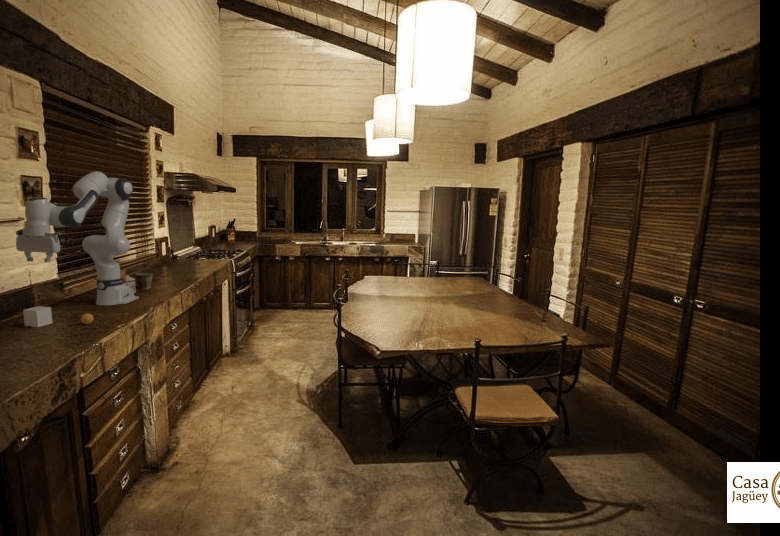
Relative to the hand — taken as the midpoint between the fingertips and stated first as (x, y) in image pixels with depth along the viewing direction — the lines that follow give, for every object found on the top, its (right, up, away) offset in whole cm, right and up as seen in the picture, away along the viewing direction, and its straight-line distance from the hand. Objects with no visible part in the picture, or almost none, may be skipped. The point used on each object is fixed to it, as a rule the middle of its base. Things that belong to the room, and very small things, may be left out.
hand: (38, 261), depth 192 cm
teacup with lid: (-2, -19, +70) cm, 72 cm away
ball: (+20, -27, +3) cm, 34 cm away
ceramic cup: (-2, -17, +85) cm, 86 cm away
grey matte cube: (0, -30, +1) cm, 30 cm away
